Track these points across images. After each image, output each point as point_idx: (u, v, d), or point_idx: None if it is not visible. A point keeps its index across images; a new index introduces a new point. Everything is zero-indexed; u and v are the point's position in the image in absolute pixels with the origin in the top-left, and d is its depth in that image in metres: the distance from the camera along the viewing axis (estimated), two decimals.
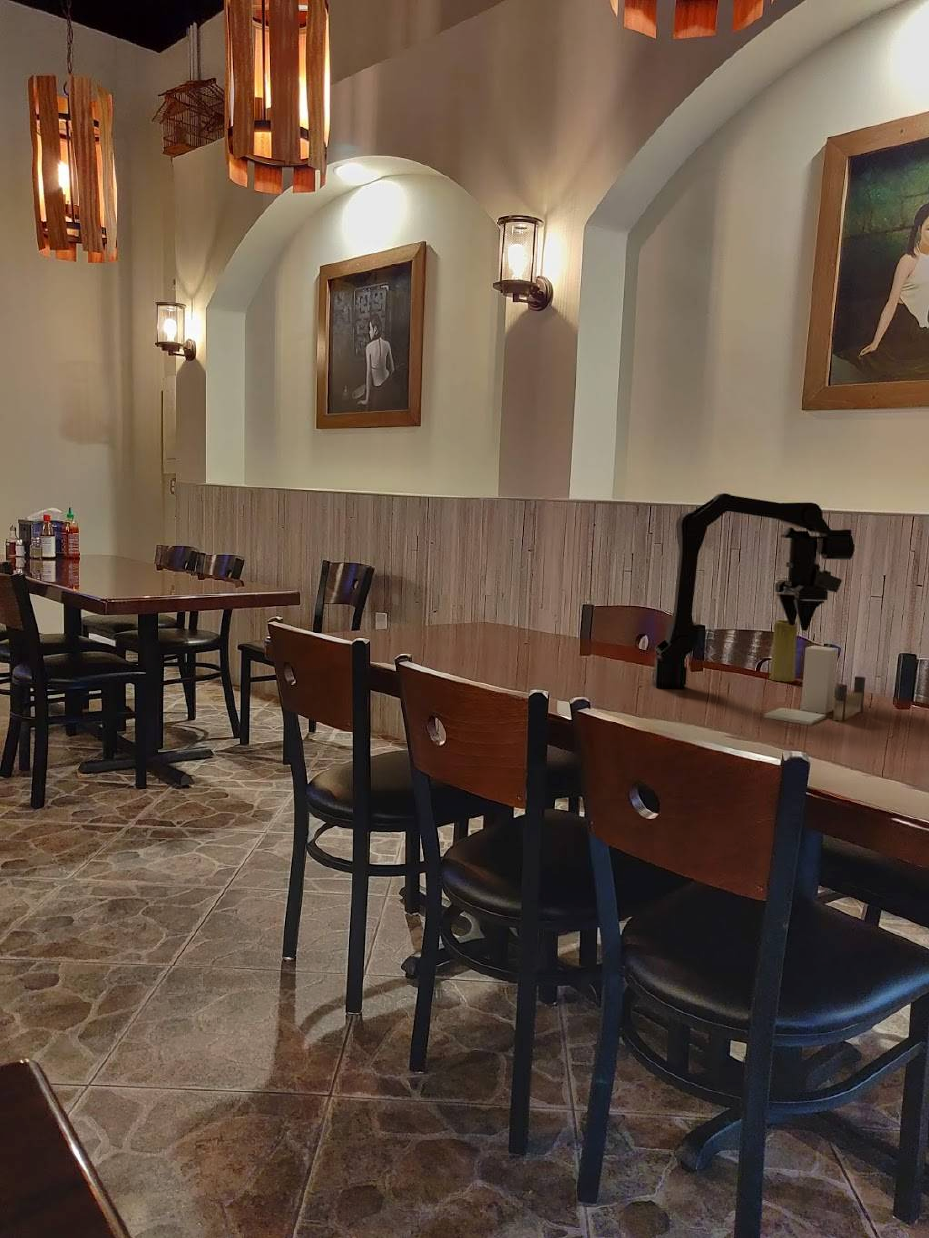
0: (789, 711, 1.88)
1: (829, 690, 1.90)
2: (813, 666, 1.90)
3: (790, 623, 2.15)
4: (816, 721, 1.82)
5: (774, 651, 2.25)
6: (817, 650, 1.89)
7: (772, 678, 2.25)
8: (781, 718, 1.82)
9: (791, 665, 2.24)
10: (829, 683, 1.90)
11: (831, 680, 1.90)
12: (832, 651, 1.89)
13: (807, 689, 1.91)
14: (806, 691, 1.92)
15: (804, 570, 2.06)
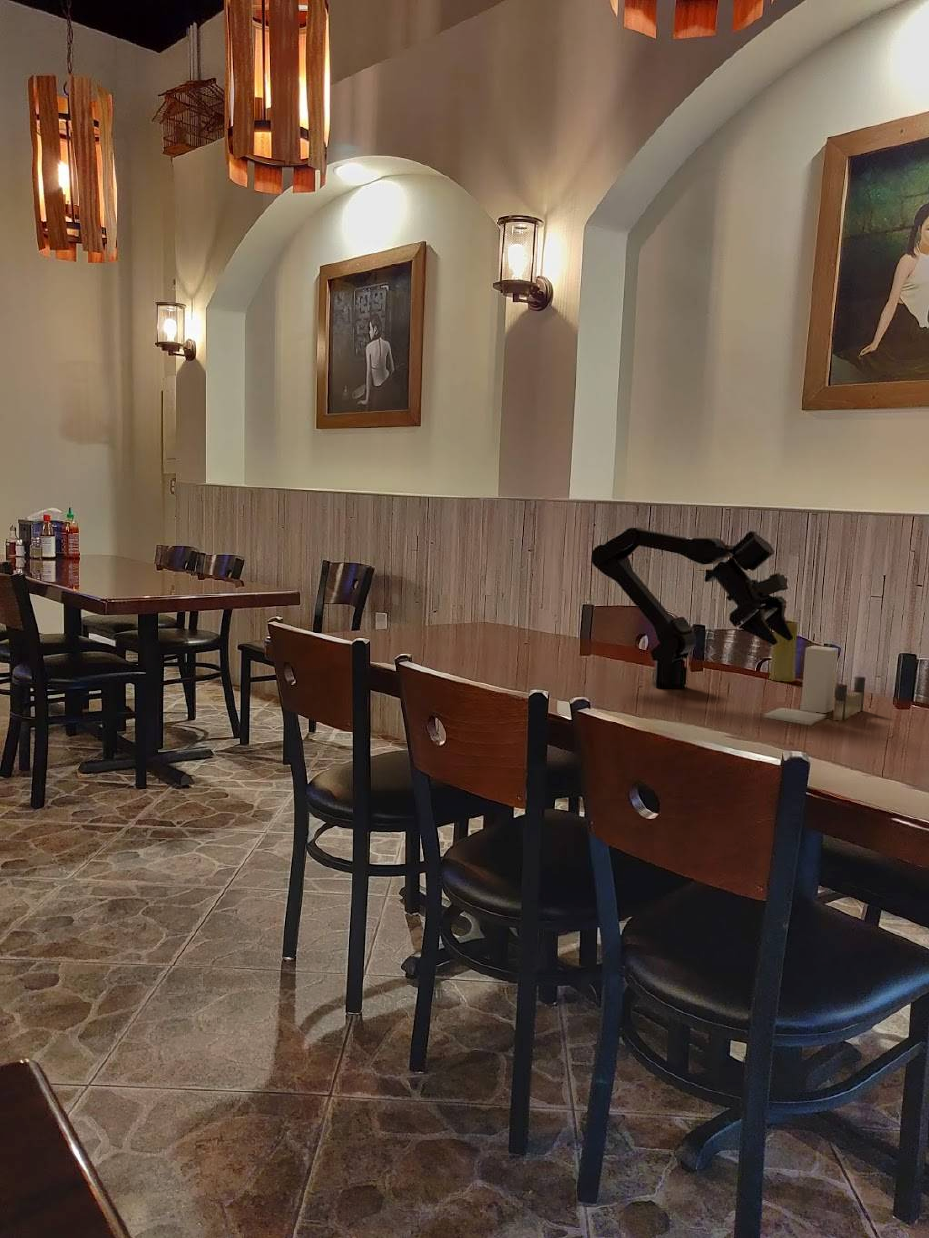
0: (789, 711, 1.88)
1: (829, 690, 1.90)
2: (813, 666, 1.90)
3: (788, 639, 2.00)
4: (816, 721, 1.82)
5: (774, 651, 2.25)
6: (817, 650, 1.89)
7: (772, 678, 2.25)
8: (781, 718, 1.82)
9: (791, 665, 2.24)
10: (829, 683, 1.90)
11: (831, 680, 1.90)
12: (832, 651, 1.89)
13: (807, 689, 1.91)
14: (806, 691, 1.92)
15: (738, 595, 1.99)
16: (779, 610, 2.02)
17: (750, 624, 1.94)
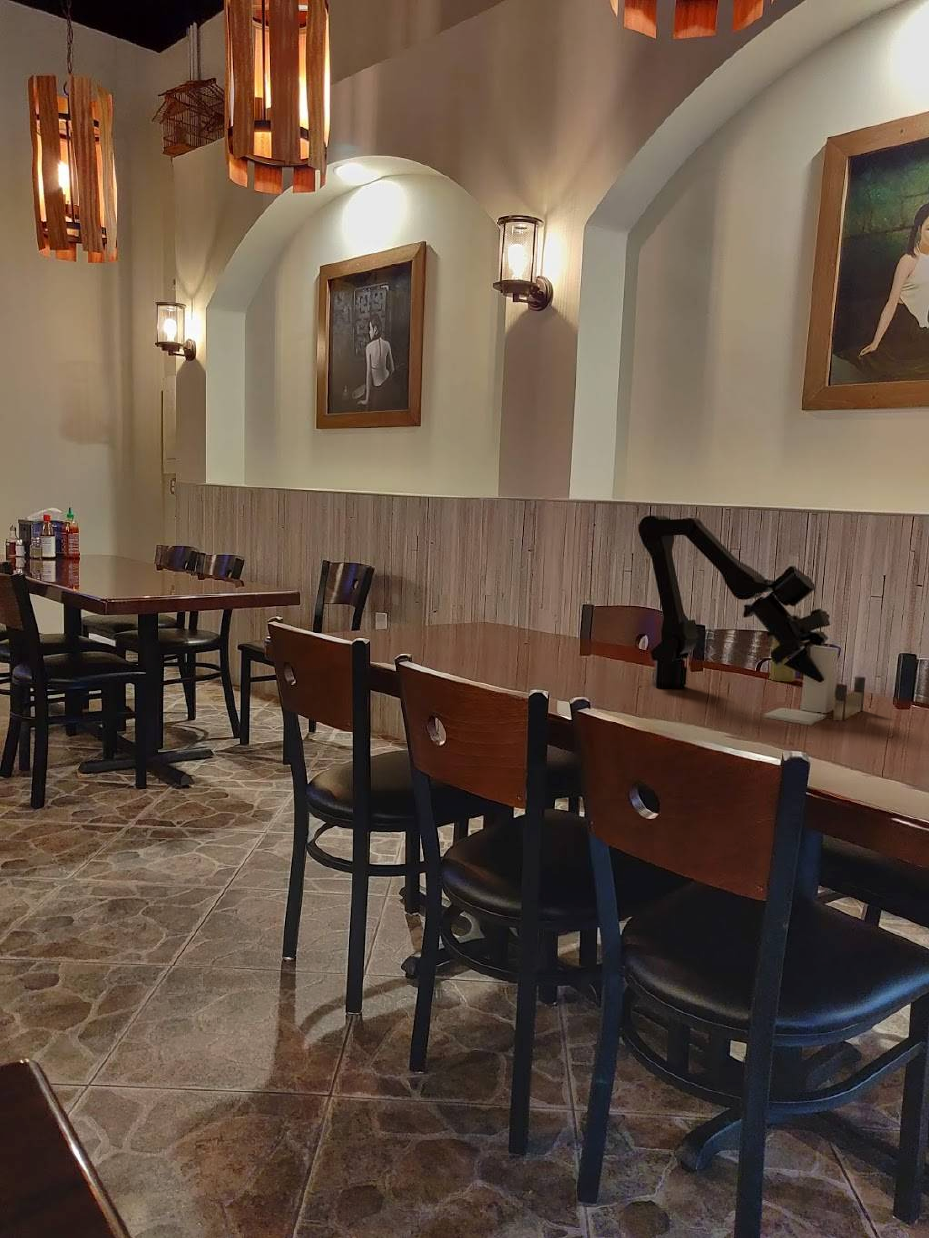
0: (789, 711, 1.88)
1: (829, 690, 1.90)
2: None
3: None
4: (816, 721, 1.82)
5: None
6: (817, 650, 1.90)
7: (772, 678, 2.25)
8: (781, 718, 1.82)
9: None
10: (829, 683, 1.90)
11: (831, 680, 1.90)
12: (832, 651, 1.89)
13: (807, 689, 1.91)
14: (806, 691, 1.92)
15: (778, 632, 1.94)
16: None
17: (795, 661, 1.91)
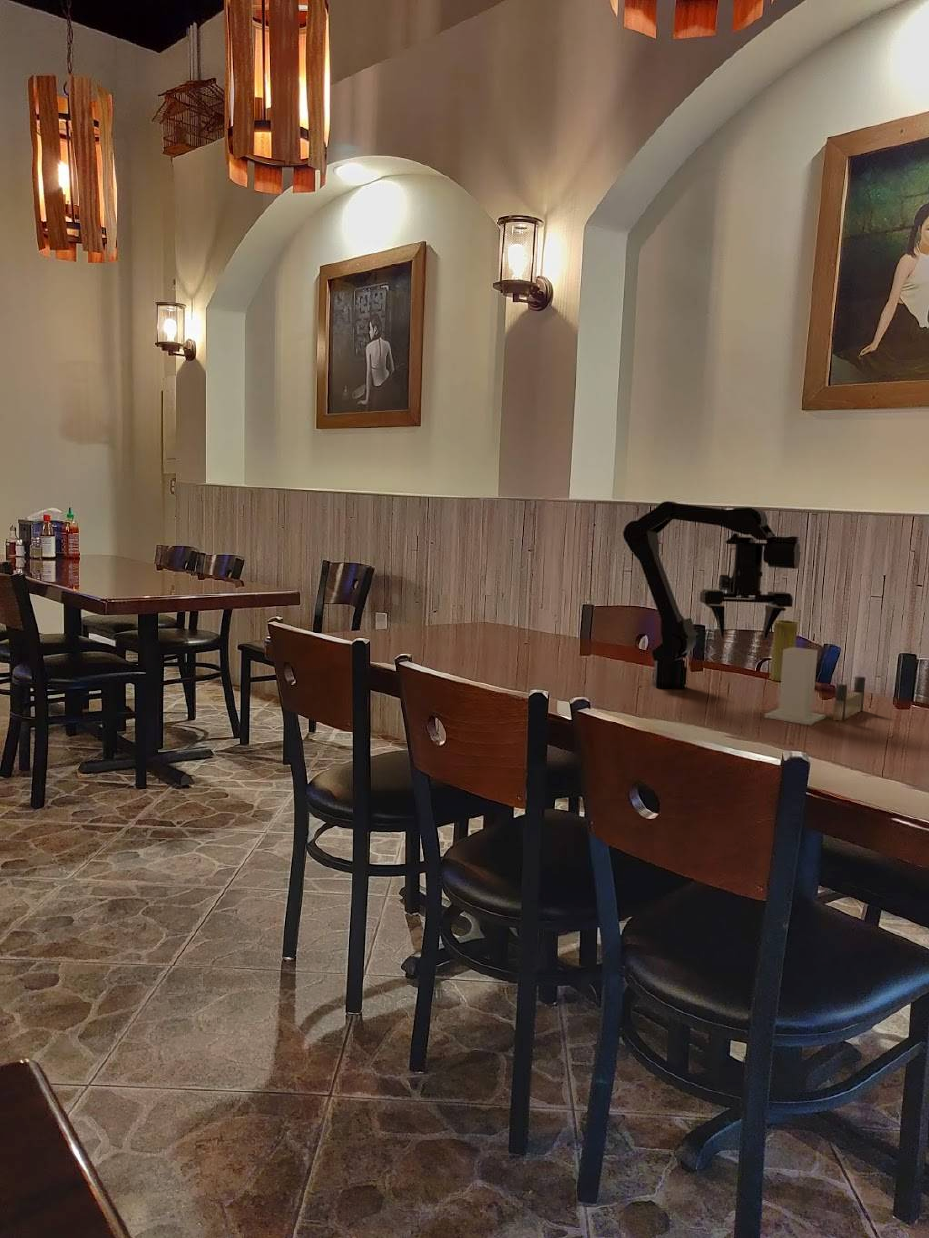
0: None
1: (807, 694, 1.82)
2: (791, 669, 1.83)
3: None
4: (816, 721, 1.82)
5: (774, 651, 2.25)
6: (795, 652, 1.82)
7: (772, 678, 2.25)
8: (781, 718, 1.82)
9: None
10: (808, 687, 1.82)
11: (810, 683, 1.83)
12: (811, 653, 1.81)
13: (785, 693, 1.84)
14: (784, 695, 1.84)
15: None
16: None
17: None
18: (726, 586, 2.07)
